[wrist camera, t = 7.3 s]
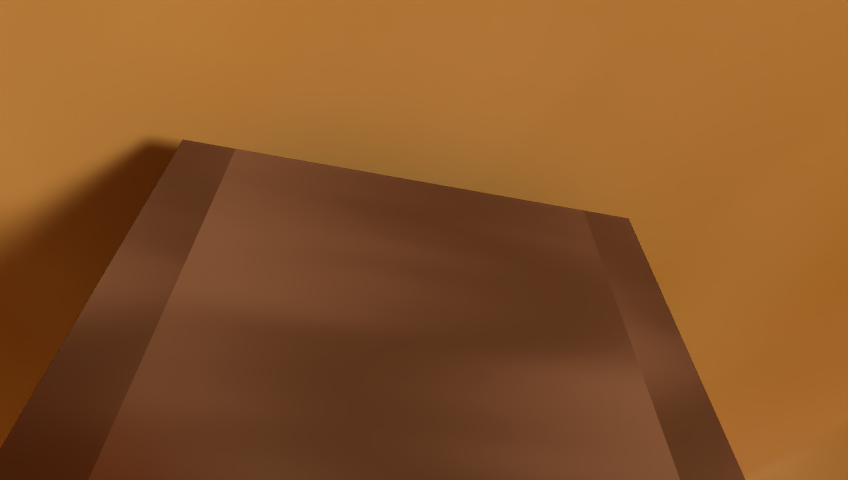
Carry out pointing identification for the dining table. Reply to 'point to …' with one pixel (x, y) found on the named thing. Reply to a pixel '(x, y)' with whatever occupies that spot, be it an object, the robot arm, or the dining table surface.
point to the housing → (366, 340)
